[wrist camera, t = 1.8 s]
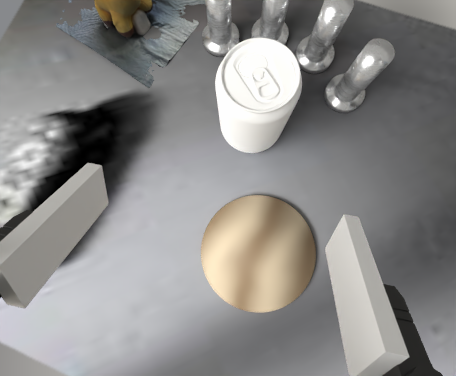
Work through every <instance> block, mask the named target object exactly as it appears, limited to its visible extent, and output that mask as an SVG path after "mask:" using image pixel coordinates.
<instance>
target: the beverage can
mask: <svg viewBox="0 0 456 376" xmlns="http://www.w3.org/2000/svg"><path fill="white" fill-rule="evenodd" d="M215 85H216V95H217V102H218V110H219V118H220V125H221V131H222V134H223V136H224V138H225V139H226V141H227V142H228V143H229V144H230V145H231V146H232V147H234V148H235V149H237V150H239V151H242V152H246V153H257V152H261V151H264V150H266V149H268V148H270V147H271V146H272V145H273V144H274V143H275V142H276V141H277V140H278V138H279V136H280V134H281V132H282V131H283V129H284V127H285V125H286V123H287V121H288V119H289V117H290V115H291V113H292V111H293V109H294V108H295V106H296V104H297V102H298V100H299V97H300V94H301V89H302V77H301V72H300V67H299V64H298V61H297V59H296V57H295V56H294V54H293V53H292V52H291V51H290V50H289V49H288V48H287V47H286V46H285V45H283V44H282V43H280V42H278V41H275V40H272V39H268V38H252V39H248V40H245V41H242V42H240V43H238V44H237V45H235V46H234V47H233V48H232V49H231V50H230V51H229V52H228V53H227V54H226V56H225V58H224V60H223V61H222V63H221V64H220V66H219V68H218V71H217V75H216V82H215Z"/></svg>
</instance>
